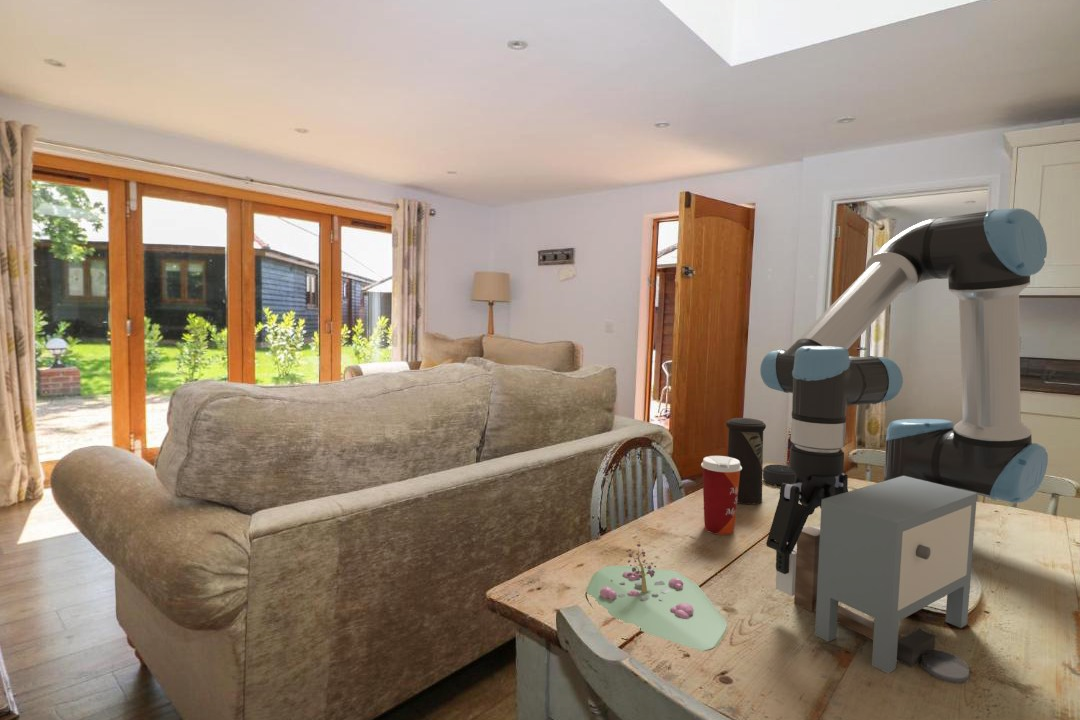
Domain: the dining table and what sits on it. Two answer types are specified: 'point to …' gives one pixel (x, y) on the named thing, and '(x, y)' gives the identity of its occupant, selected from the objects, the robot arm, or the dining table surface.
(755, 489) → the container
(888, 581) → the cabinet
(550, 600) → the dining table surface
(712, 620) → the miniature garden model
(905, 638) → the pusher tool
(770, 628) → the dining table surface
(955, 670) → the silver flat dome
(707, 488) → the coffee cup
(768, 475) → the smart speaker
